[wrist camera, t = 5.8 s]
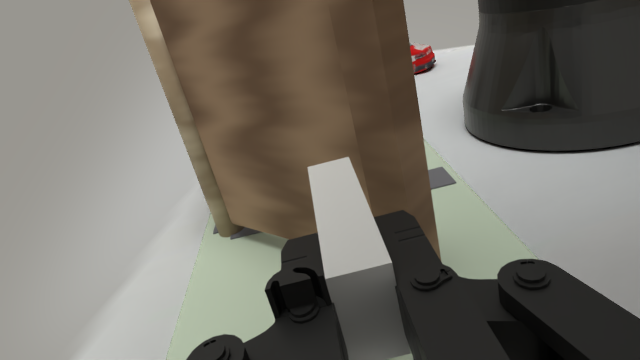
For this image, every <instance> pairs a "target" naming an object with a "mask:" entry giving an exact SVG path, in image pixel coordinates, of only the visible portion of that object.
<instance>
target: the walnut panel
mask: <svg viewBox="0 0 640 360" xmlns="http://www.w3.org/2000/svg"><path fill="white" fill-rule="evenodd" d="M150 2H151V5H152V8H153V10H154V13H155V16H156V19H157V21H158V24H159V27H160V29H161V32H162V35H163V38H164V40H165V43H166V46H167V48H168V51H169V54H170V57H171V59H172V62H173V65H174V67H175V70H176V73H177V76H178V78H179V81H180V84H181V86H182V89H183V92H184V95H185V97H186V100H187V103H188V106H189V108H190V111H191V114H192V116H193V119H194V122H195V125H196V127H197V130H198V133H199V135H200V138H201V141H202V144H203V146H204V149H205V152H206V154H207V157H208V160H209V163H210V165H211V168H212V171H213V173H214V176H215V179H216V182H217V184H218V187H219V190H220V193H221V195H222V198H223V201H224V203H225V206H226V209H227V212H228V214H229V217H230V220H231V222H232V223H233V224H236V225H240V226H243V227H247V228H250V229H254V230H258V231H261V232H265V233H268V234H272V235H275V236H279V237H282V238H286V239H289V240H290V239H294V238H298V237H302V236H306V235H310V234H314V233H317V232H318V231H317V224H316V218H315V212H314V205H313V199H312V193H311V186H310V180H309V174H308V168H307V167H310V166H314V165H318V164H322V163H326V162H330V161H333V160H337V159H341V158H345V157H349V159H350V161H351V164H352V166H353V169H354V171H355V173H356V176H357V178H358V181H359V183H360V186H361V188H362V191H363V193H364V195H365V198H366V200H367V203H368V205H369V208H370V210H371V212H372V215H373V217H376V216H380V215H384V214H388V213H392V212H396V211H400V210H404V211H406V212H407V213H409V214H411V215H413V216H414V217H415V218H416V220H417V222H418V223H419V225H420V227H421V228H422V230H423V232H424V233H425V236H426V237H427V238H428V240H429V242H430V244H431V245H432V247H433V249H434V250H435V252H436V254H437V255H438V257H439V259H440V260H441V255H440V249H439V242H438V235H437V228H436V221H435V214H434V208H433V201H432V194H431V187H430V180H429V173H428V167H427V160H426V153H425V146H424V139H423V132H422V126H421V119H420V112H419V105H418V98H417V91H416V85H415V78H414V71H413V64H412V57H411V50H410V44H409V37H408V30H407V24H406V16H405V10H404V3H403V0H150Z"/></svg>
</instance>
